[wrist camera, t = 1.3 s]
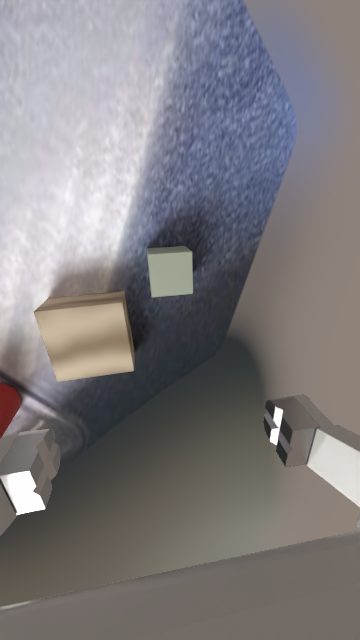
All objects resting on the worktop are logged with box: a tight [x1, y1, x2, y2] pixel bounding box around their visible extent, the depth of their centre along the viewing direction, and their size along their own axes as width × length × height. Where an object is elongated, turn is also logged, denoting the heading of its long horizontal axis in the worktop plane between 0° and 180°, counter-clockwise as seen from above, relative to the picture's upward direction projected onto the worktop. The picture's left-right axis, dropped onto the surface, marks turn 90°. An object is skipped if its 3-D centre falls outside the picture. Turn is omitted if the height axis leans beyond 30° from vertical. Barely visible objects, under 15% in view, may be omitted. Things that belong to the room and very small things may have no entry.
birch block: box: [34, 291, 135, 382], centre depth 32 cm, size 10×10×5 cm
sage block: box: [147, 246, 193, 297], centre depth 30 cm, size 5×5×5 cm
